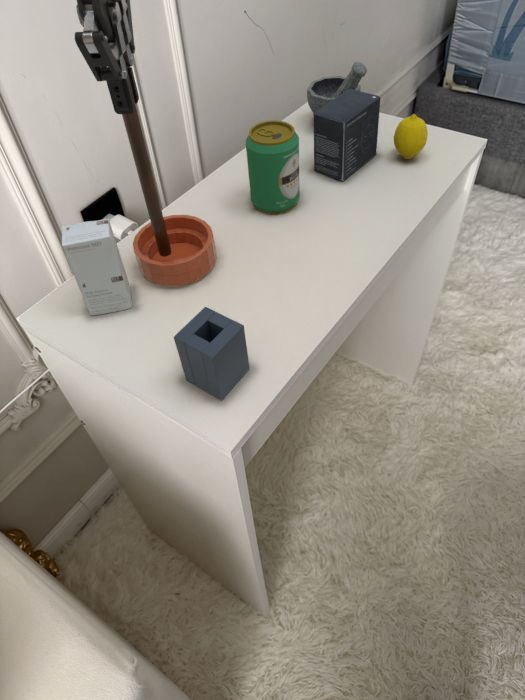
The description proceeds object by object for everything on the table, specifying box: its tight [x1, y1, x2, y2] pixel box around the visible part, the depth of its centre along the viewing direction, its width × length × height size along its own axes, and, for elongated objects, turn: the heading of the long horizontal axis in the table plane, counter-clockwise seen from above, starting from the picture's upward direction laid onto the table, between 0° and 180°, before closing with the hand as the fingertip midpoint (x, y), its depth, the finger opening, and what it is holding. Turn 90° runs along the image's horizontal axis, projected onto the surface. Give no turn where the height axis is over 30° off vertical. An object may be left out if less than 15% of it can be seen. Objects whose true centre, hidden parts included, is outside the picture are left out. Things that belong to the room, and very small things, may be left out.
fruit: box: [393, 113, 429, 160], centre depth 89 cm, size 6×6×8 cm
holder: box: [173, 306, 251, 402], centre depth 61 cm, size 6×6×8 cm
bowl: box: [132, 214, 217, 287], centre depth 76 cm, size 11×11×4 cm
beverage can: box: [245, 119, 300, 215], centre depth 82 cm, size 8×8×12 cm
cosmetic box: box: [61, 218, 133, 316], centre depth 69 cm, size 6×4×12 cm
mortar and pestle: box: [306, 61, 368, 114], centre depth 97 cm, size 11×9×12 cm
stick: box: [121, 59, 172, 257], centre depth 66 cm, size 2×2×26 cm
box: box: [312, 89, 381, 182], centre depth 89 cm, size 11×7×10 cm, turn 139°
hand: (127, 107), depth 59 cm, fingers closed on stick, 2 cm apart
